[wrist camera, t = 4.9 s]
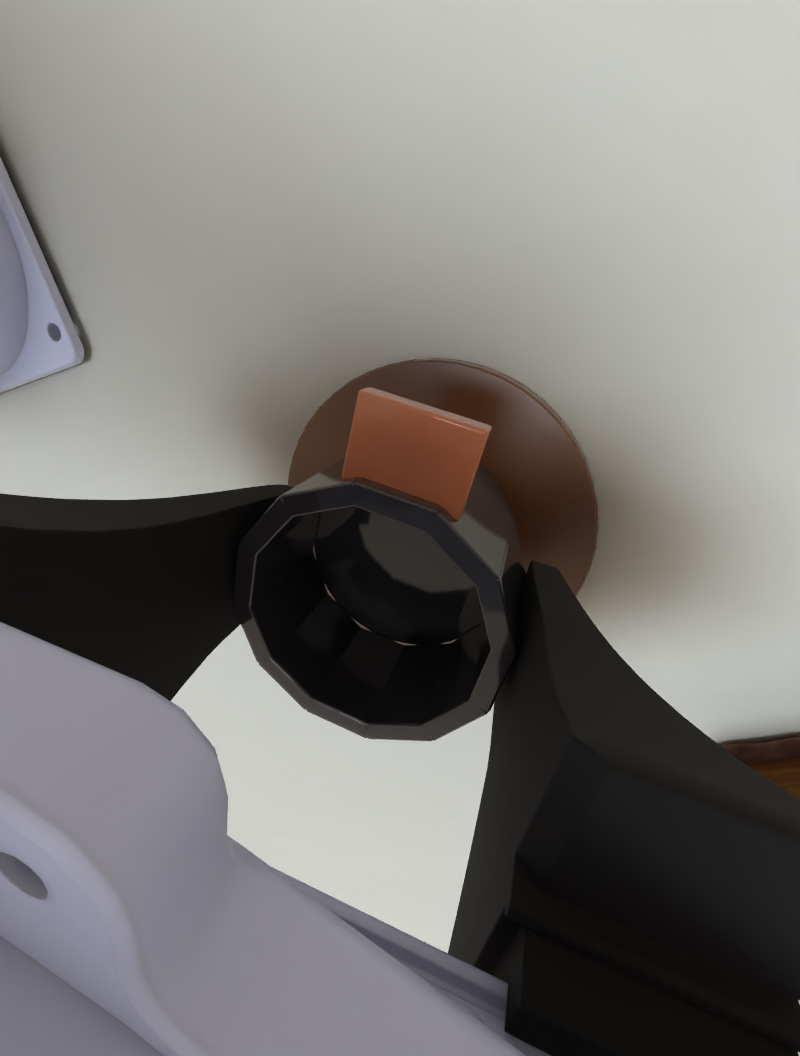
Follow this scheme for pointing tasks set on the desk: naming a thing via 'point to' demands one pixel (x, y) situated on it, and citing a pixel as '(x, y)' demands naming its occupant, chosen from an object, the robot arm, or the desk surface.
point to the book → (772, 761)
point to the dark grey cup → (389, 577)
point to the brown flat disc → (510, 456)
